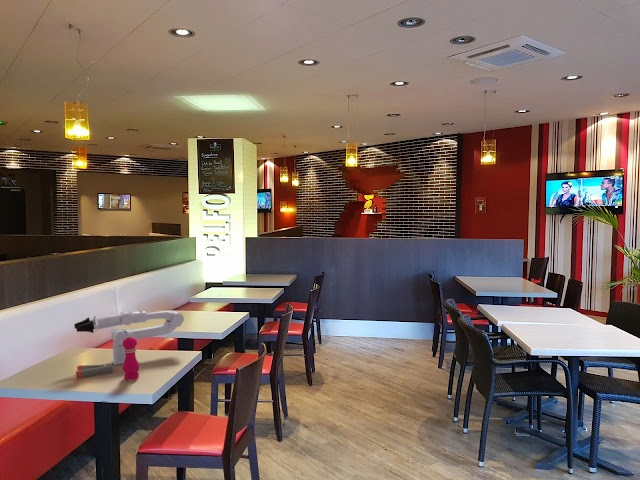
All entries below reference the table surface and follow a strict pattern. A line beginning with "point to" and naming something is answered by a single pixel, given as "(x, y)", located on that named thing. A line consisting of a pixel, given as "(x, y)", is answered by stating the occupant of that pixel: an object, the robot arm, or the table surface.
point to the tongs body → (94, 371)
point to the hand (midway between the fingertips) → (75, 327)
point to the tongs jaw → (87, 367)
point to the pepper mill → (130, 359)
